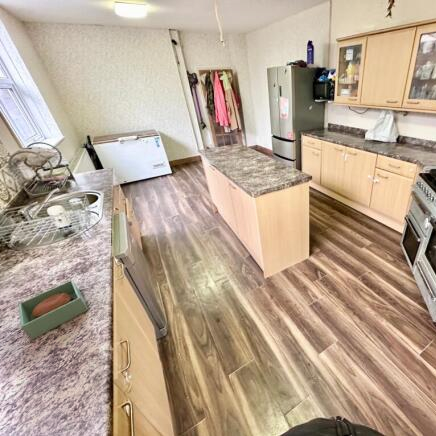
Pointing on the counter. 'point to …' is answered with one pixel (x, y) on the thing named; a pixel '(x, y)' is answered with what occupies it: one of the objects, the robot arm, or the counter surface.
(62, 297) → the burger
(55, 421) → the counter surface
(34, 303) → the green shallow tray
